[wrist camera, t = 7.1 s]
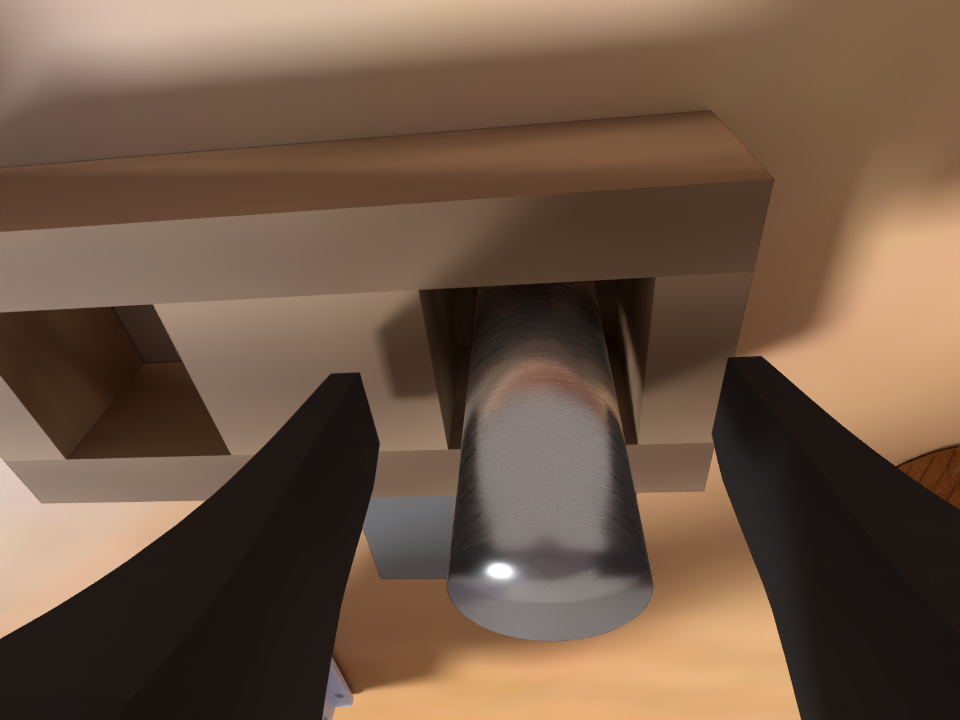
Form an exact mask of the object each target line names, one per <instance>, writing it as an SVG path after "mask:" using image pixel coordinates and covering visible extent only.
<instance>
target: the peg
mask: <svg viewBox="0 0 960 720" xmlns="http://www.w3.org/2000/svg"><path fill="white" fill-rule="evenodd" d="M447 591H448V595H449V598H450V599H451V601H452V603H453V605H454V606H455V607H456V608H457V609H458V611H459V612H461V613H462V614H463V615H464V616H465V617H466V618H468V619H469V620H471V621H472V622H474V623H476V624H478V625H479V626H481V627H483V628H486V629H488V630H490V631H493V632H496V633H499V634H502V635H506V636H510V637H514V638H520V639H526V640H535V641H568V640H577V639H584V638H588V637H593V636H597V635H600V634H604V633H607V632H609V631H612V630H615V629H617V628H619V627H621V626H623V625H625V624H627V623H628V622H630V621H631V620H633V619H634V618H635V617H637V616H638V615H639V614H640V613H641V612H642V611H643V610H644V609H645V607H646V606H647V604H648V603H649V601H650V599H651V596H652V593H653V581H652V575H651V570H650V565H649V560H648V555H647V550H646V545H645V540H644V535H643V530H642V525H641V519H640V514H639V509H638V504H637V499H636V494H635V489H634V484H633V479H632V474H631V469H630V464H629V459H628V453H627V448H626V443H625V438H624V433H623V428H622V423H621V418H620V413H619V408H618V403H617V398H616V393H615V388H614V382H613V377H612V372H611V367H610V362H609V357H608V352H607V347H606V342H605V337H604V332H603V327H602V322H601V316H600V311H599V306H598V301H597V296H596V291H595V286H594V281H593V280H592V281H574V282H555V283H537V284H518V285H500V286H481V287H478V293H477V303H476V312H475V321H474V331H473V340H472V350H471V359H470V368H469V378H468V387H467V397H466V406H465V415H464V425H463V434H462V444H461V453H460V462H459V472H458V481H457V491H456V500H455V509H454V519H453V528H452V538H451V547H450V556H449V566H448V575H447Z"/></svg>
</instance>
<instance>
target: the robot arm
mask: <svg viewBox="0 0 960 720" xmlns="http://www.w3.org/2000/svg"><path fill="white" fill-rule="evenodd" d="M712 438H713V443H714V447H715V451H716V456H717V460H718V464H719V468H720V472H721V476H722V479H723V482H724V485H725V488H726V490H727V493H728V496H729V498H730V501H731V503H732V506H733V509H734V511H735V514H736V516H737V519H738V522H739V524H740V527H741V529H742V532H743V534H744V537H745V539H746V542H747V544H748V547H749V549H750V552H751V555H752V557H753V560H754V562H755V565H756V567H757V570H758V572H759V575H760V577H761V580H762V582H763V585H764V588H765V591H766V594H767V597H768V600H769V602H770V605H771V608H772V612H773V615H774V619H775V622H776V626H777V630H778V633H779V637H780V640H781V644H782V648H783V651H784V655H785V658H786V662H787V666H788V670H789V674H790V678H791V682H792V685H793V689H794V693H795V697H796V701H797V705H798V709H799V713H800V717H801V720H960V509H958V508H956V507H955V506H953V505H952V504H950V503H949V502H947V501H946V500H944V499H943V498H941V497H939V496H938V495H936V494H935V493H933V492H932V491H930V490H929V489H927V488H926V487H924V486H923V485H921V484H920V483H918V482H917V481H915V480H914V479H912V478H911V477H910V476H908V475H907V474H905V473H904V472H902V471H901V470H900V469H898V468H897V467H896V466H894V465H893V464H892V463H890V462H889V461H888V460H886V459H885V458H884V457H882V456H881V455H880V454H878V453H877V452H875V451H874V450H873V449H871V448H870V447H869V446H868V445H866V444H865V443H864V442H862V441H861V440H860V439H859V438H857V437H856V436H855V435H853V434H852V433H851V432H850V431H849V430H847V429H846V428H845V427H844V426H842V425H841V424H840V423H839V422H837V421H836V420H835V419H834V418H833V417H831V416H830V415H829V414H828V413H827V412H825V411H824V410H823V409H822V408H821V407H820V406H818V405H817V404H816V403H815V402H814V401H813V400H811V399H810V398H809V397H808V396H807V395H806V394H804V393H803V392H802V391H801V390H800V389H799V388H798V387H796V386H795V385H794V384H793V383H792V382H791V381H790V380H788V379H787V378H786V377H785V376H784V375H783V374H782V373H780V372H779V371H778V370H777V369H776V368H775V367H774V366H772V365H771V364H770V363H769V362H768V361H767V360H765V359H764V358H763V357H762V356H753V357H728V359H727V364H726V368H725V373H724V378H723V382H722V387H721V392H720V396H719V401H718V406H717V410H716V415H715V420H714V424H713V429H712ZM379 447H380V441H379V438H378V434H377V431H376V427H375V424H374V420H373V417H372V413H371V410H370V406H369V403H368V399H367V396H366V392H365V389H364V385H363V382H362V378H361V375H360V372H354V373H331V374H330V375H329V376H328V377H327V378H326V379H325V380H324V381H323V382H322V383H321V385H320V386H319V387H318V388H317V389H316V390H315V391H314V392H313V393H312V394H311V396H310V397H309V398H308V399H307V400H306V401H305V402H304V403H303V404H302V406H301V407H300V408H299V409H298V410H297V411H296V412H295V413H294V414H293V415H292V417H291V418H290V419H289V420H288V421H287V422H286V423H285V424H284V425H283V426H282V427H281V428H280V430H279V431H278V432H277V433H276V434H275V435H274V436H273V437H272V438H271V439H270V440H269V441H268V442H267V443H266V444H265V445H264V446H263V447H262V448H261V449H260V450H259V451H258V452H257V453H256V454H255V455H254V456H253V457H252V458H251V459H250V460H249V461H248V462H247V463H246V464H245V465H244V466H243V467H242V468H241V469H240V470H239V471H238V472H237V473H236V474H235V475H234V476H233V477H232V478H231V479H230V480H229V481H228V482H226V483H225V484H224V485H223V486H222V487H221V488H220V489H219V490H218V491H216V492H215V493H214V494H213V495H212V496H211V497H210V498H208V499H207V500H206V501H205V502H204V503H202V504H201V505H200V506H199V507H198V508H196V509H195V510H194V511H193V512H192V513H190V514H189V515H188V516H187V517H186V518H184V519H183V520H182V521H181V522H179V523H178V524H177V525H175V526H174V527H173V528H172V529H170V530H169V531H167V532H166V533H165V534H163V535H162V536H161V537H159V538H158V539H157V540H155V541H154V542H152V543H151V544H150V545H148V546H147V547H146V548H144V549H143V550H142V551H140V552H139V553H137V554H136V555H135V556H133V557H132V558H131V559H129V560H128V561H127V562H125V563H124V564H122V565H121V566H119V567H118V568H116V569H115V570H113V571H112V572H110V573H109V574H107V575H106V576H104V577H103V578H101V579H100V580H98V581H97V582H95V583H94V584H92V585H90V586H89V587H87V588H86V589H84V590H83V591H81V592H79V593H78V594H76V595H75V596H73V597H71V598H70V599H68V600H67V601H65V602H63V603H62V604H60V605H58V606H57V607H55V608H53V609H52V610H50V611H48V612H47V613H45V614H43V615H42V616H40V617H38V618H36V619H35V620H33V621H31V622H29V623H27V624H26V625H24V626H22V627H20V628H19V629H17V630H15V631H13V632H12V633H10V634H8V635H6V636H4V637H3V638H1V639H0V720H332V718H333V714H334V710H335V707H349V706H351V705H352V704H353V699H354V697H353V695H352V693H351V691H350V689H349V687H348V686H347V684H346V682H345V680H344V678H343V676H342V674H341V672H340V670H339V669H338V667H337V665H336V663H335V661H334V659H333V657H332V653H333V648H334V642H335V636H336V631H337V625H338V620H339V614H340V608H341V604H342V600H343V596H344V592H345V587H346V584H347V580H348V577H349V573H350V570H351V566H352V563H353V559H354V556H355V552H356V549H357V545H358V542H359V538H360V535H361V531H362V528H363V524H364V521H365V517H366V513H367V510H368V506H369V503H370V499H371V495H372V491H373V488H374V482H375V475H376V469H377V462H378V454H379Z"/></svg>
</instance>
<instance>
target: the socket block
mask: <svg viewBox="0 0 960 720" xmlns="http://www.w3.org/2000/svg"><path fill="white" fill-rule="evenodd" d="M773 182H774V178H773V177H772V176H771V175H770V174H769V173H768V172H767V171H766V169H765V168H764V167H763V166H762V165H761V164H760V163H759V162H758V161H757V160H756V159H755V158H754V156H753V155H752V154H751V153H750V152H749V151H748V150H747V149H746V148H745V147H744V146H743V145H742V143H741V142H740V141H739V140H738V139H737V138H736V137H735V136H734V135H733V134H732V133H731V132H730V130H729V129H728V128H727V127H726V126H725V125H724V124H723V123H722V122H721V121H720V120H719V119H718V117H717V116H716V115H715V114H714V113H713V112H712V111H699V112H686V113H674V114H662V115H649V116H637V117H624V118H612V119H600V120H587V121H575V122H563V123H550V124H538V125H525V126H513V127H501V128H488V129H476V130H464V131H451V132H439V133H427V134H414V135H402V136H389V137H377V138H365V139H352V140H340V141H328V142H315V143H303V144H290V145H278V146H266V147H253V148H241V149H229V150H216V151H204V152H192V153H179V154H167V155H154V156H142V157H130V158H117V159H105V160H93V161H80V162H68V163H55V164H43V165H31V166H18V167H6V168H0V457H1V458H2V459H3V460H4V462H5V463H6V464H7V465H8V466H9V467H10V468H11V470H12V471H13V472H14V473H15V474H16V475H17V476H18V477H19V479H20V480H21V481H22V482H23V483H24V484H25V485H26V487H27V488H28V489H29V490H30V491H31V492H32V493H33V494H34V496H35V497H36V498H37V499H38V500H39V501H40V502H41V503H95V502H150V501H204V500H207V499H208V498H210V497H211V496H212V495H213V494H214V493H215V492H216V491H218V490H219V489H220V488H221V487H222V486H223V485H224V484H225V483H226V482H228V481H229V480H230V479H231V478H232V477H233V476H234V475H235V474H236V473H237V472H238V471H239V470H240V469H241V468H242V467H243V466H244V465H245V464H246V463H247V462H248V461H249V460H250V459H251V458H252V457H253V456H254V455H255V454H256V453H257V452H258V451H259V450H260V449H261V448H262V447H263V446H264V445H265V444H266V443H267V442H268V441H269V440H270V439H271V438H272V437H273V436H274V435H275V434H276V433H277V432H278V431H279V430H280V428H281V427H282V426H283V425H284V424H285V423H286V422H287V421H288V420H289V419H290V418H291V417H292V415H293V414H294V413H295V412H296V411H297V410H298V409H299V408H300V407H301V406H302V404H303V403H304V402H305V401H306V400H307V399H308V398H309V397H310V396H311V394H312V393H313V392H314V391H315V390H316V389H317V388H318V387H319V386H320V385H321V383H322V382H323V381H324V380H325V379H326V378H327V377H328V376H329V375H330V374H331V373H354V372H360V375H361V378H362V382H363V385H364V389H365V392H366V396H367V399H368V403H369V406H370V410H371V413H372V417H373V420H374V424H375V427H376V431H377V434H378V438H379V441H380V447H379V454H378V462H377V469H376V475H375V482H374V488H373V491H372V495H371V497H423V496H456V491H457V481H458V472H459V462H460V453H461V444H462V434H463V425H464V415H465V406H466V397H467V387H468V378H469V368H470V359H471V350H472V349H461V347H460V340H459V333H458V326H457V319H456V312H455V305H454V298H453V291H452V288H463V287H481V286H500V285H518V284H537V283H555V282H574V281H592V280H611V279H619V295H618V311H617V327H616V343H606V347H607V352H608V357H609V362H610V367H611V372H612V377H613V382H614V388H615V393H616V398H617V403H618V408H619V413H620V418H621V423H622V428H623V433H624V438H625V443H626V448H627V453H628V459H629V464H630V469H631V474H632V479H633V484H634V489H635V493H641V492H696V491H704V490H705V486H706V481H707V477H708V472H709V468H710V463H711V459H712V455H713V450H714V443H713V438H712V429H713V424H714V420H715V415H716V410H717V406H718V401H719V396H720V392H721V387H722V382H723V378H724V373H725V368H726V364H727V359H728V357H734V356H735V352H736V347H737V343H738V338H739V334H740V329H741V325H742V320H743V316H744V311H745V307H746V302H747V298H748V293H749V289H750V284H751V280H752V275H753V271H754V267H755V262H756V258H757V253H758V249H759V244H760V240H761V235H762V231H763V226H764V222H765V217H766V213H767V208H768V204H769V199H770V195H771V190H772V186H773ZM148 304H153V306H154V308H155V310H156V311H157V313H158V315H159V317H160V319H161V321H162V323H163V325H164V327H165V329H166V331H167V333H168V334H169V336H170V338H171V340H172V342H173V344H174V346H175V348H176V350H177V352H178V354H179V356H180V358H181V359H182V361H183V362H161V363H144V362H143V360H142V359H141V357H140V355H139V353H138V352H137V350H136V348H135V347H134V345H133V343H132V341H131V340H130V338H129V336H128V334H127V333H126V331H125V329H124V327H123V326H122V324H121V322H120V320H119V319H118V317H117V315H116V313H115V312H114V310H113V308H112V306H129V305H148Z"/></svg>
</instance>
